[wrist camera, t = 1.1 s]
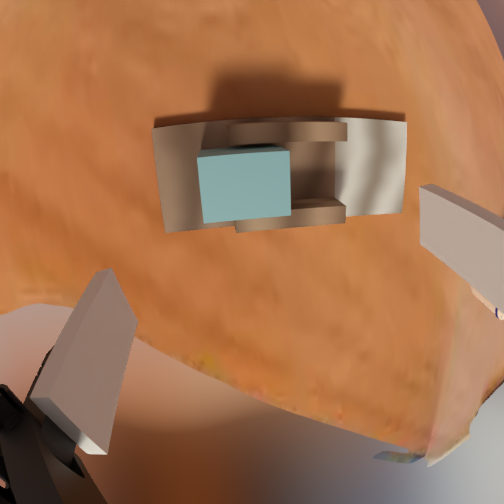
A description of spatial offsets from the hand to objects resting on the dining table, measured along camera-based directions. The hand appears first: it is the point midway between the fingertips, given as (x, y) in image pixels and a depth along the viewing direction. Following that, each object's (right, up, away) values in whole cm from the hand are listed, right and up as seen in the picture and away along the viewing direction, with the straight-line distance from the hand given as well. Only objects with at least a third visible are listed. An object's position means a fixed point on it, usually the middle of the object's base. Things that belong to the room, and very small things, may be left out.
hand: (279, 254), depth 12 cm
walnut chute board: (+3, +10, +23) cm, 25 cm away
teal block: (-2, +9, +21) cm, 23 cm away
